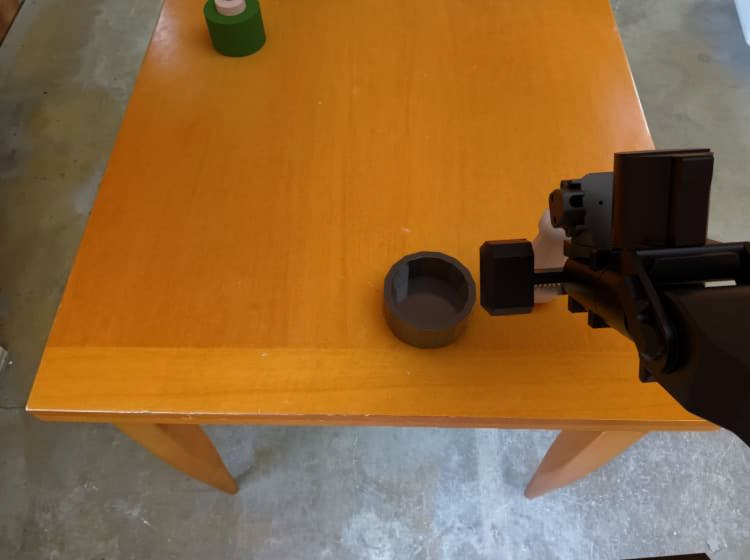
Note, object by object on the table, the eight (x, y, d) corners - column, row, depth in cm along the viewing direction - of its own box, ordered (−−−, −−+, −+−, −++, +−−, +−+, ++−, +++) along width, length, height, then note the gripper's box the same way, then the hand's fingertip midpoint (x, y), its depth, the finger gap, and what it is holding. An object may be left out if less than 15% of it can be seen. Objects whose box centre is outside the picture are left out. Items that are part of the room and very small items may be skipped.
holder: (488, 313, 63) (495, 292, 59) (425, 366, 60) (428, 348, 56) (428, 259, 67) (431, 236, 63) (365, 306, 63) (364, 285, 60)
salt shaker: (563, 311, 63) (602, 242, 52) (511, 311, 63) (539, 242, 52) (555, 267, 66) (590, 193, 55) (505, 267, 66) (530, 193, 55)
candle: (238, 64, 86) (223, 1, 77) (201, 42, 88) (182, -20, 80) (276, 37, 89) (266, -26, 81) (239, 17, 92) (225, -46, 83)
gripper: (769, 173, 40) (653, 165, 55) (505, 189, 39) (461, 177, 54) (753, 325, 42) (646, 277, 58) (505, 342, 42) (463, 290, 57)
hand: (556, 253), depth 57 cm, fingers open, 9 cm apart
